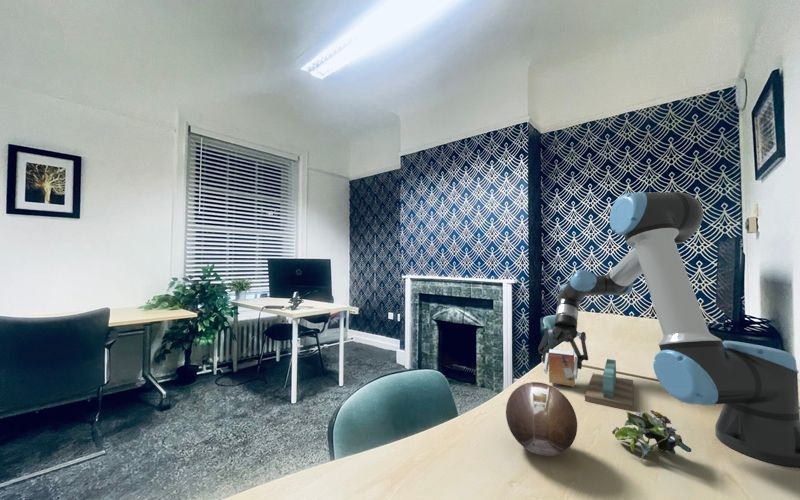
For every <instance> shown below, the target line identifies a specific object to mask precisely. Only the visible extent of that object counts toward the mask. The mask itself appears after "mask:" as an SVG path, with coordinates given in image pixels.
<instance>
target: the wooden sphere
mask: <svg viewBox="0 0 800 500" xmlns="http://www.w3.org/2000/svg"><path fill="white" fill-rule="evenodd" d="M505 417H506V422H507V423H506V424H507V426H508V430H509V431H510V433H511V435H512V437H514V438H515V440H516V441H517V443H519V445H521V446H522V447H523V448H524V449H525V450H527V451H529V452H530V453H533V454H535V455H539V456H543V457H545V456H546V457H552V456H553V457H554V456H557V455H560V454H562V453H564V452H566V451H567V450H568V449H570V447H571V446H572V445H573V443H574V441H575V440H576V436H577V432H578V419H577V415H576V412H575V409H574V406H573V405H572V403H571V402H570V401H569V399H568V398H567V396H565V394H564V393H562V392H561V391H560V390H559V389H557V388H555V387H554V386H552V385H550V384H548V383H544V382H536V381H533V382H532V381H531V382H527V383H526V382H525V383H524V384H521V385H519V386H518V387H516V388H515V389H514V390H513V391H512V392H511V394H510V396H509V398H508V399H507V402H506V407H505Z"/></svg>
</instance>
